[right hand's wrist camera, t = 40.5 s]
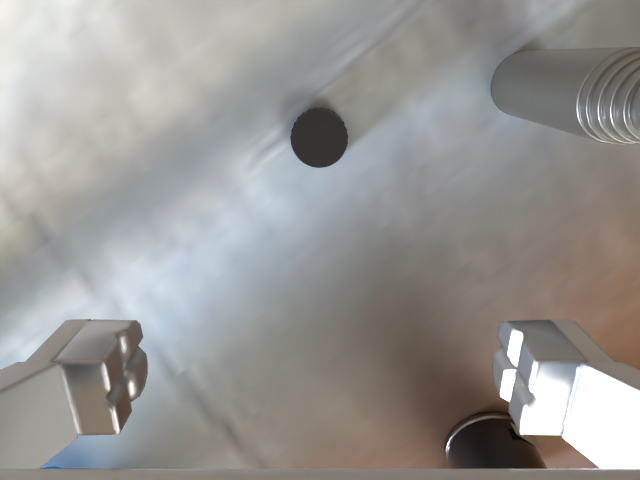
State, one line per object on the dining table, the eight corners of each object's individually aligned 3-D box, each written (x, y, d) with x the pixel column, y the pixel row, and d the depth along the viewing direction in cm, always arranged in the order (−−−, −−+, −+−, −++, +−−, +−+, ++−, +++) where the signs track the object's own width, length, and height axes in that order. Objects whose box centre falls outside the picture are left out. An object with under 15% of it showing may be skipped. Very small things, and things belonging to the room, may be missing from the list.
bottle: (517, 38, 35) (712, 18, 18) (565, 71, 36) (797, 84, 19) (478, 95, 37) (622, 130, 19) (525, 126, 38) (704, 186, 20)
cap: (314, 174, 39) (314, 179, 38) (280, 130, 38) (278, 134, 36) (357, 141, 38) (359, 145, 37) (324, 95, 37) (324, 97, 35)
